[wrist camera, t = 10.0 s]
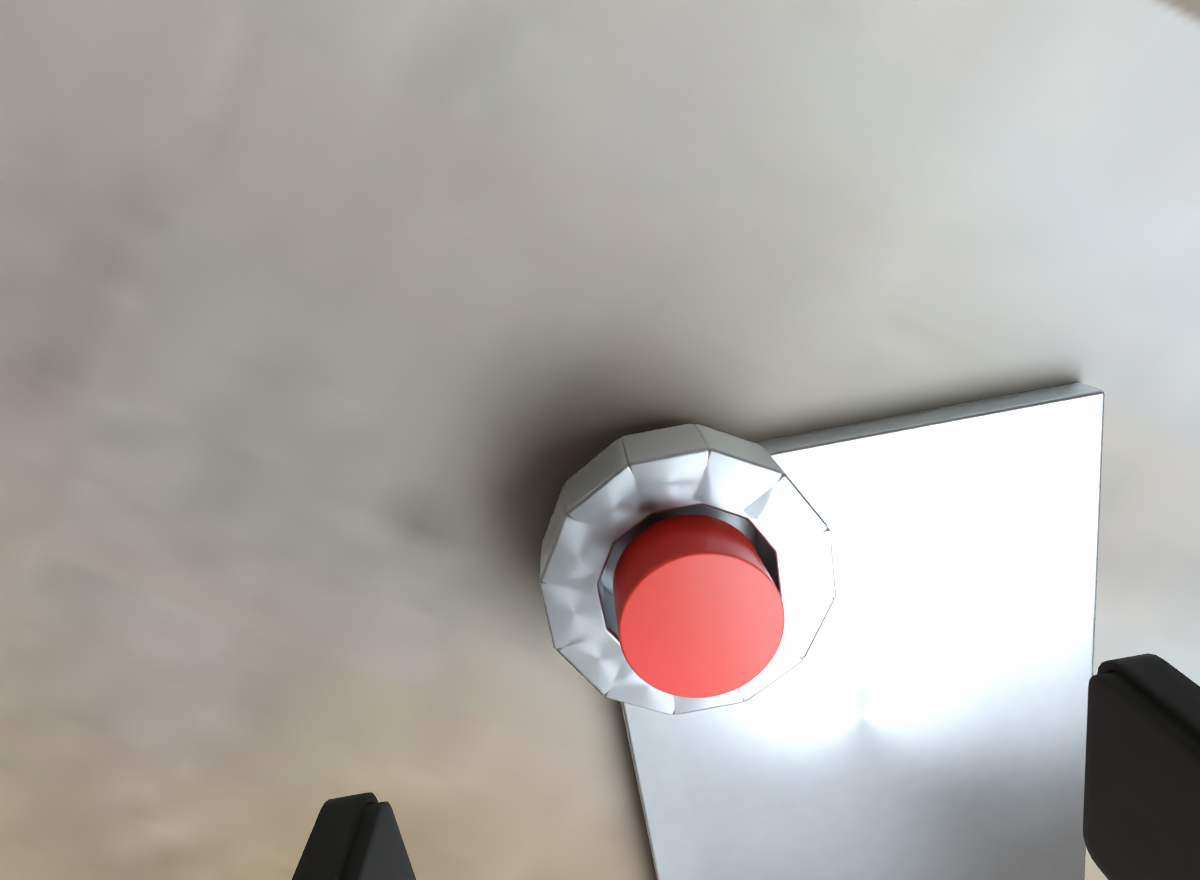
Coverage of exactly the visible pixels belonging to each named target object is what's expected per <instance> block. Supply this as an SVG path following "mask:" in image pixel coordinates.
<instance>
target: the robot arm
mask: <svg viewBox="0 0 1200 880" xmlns="http://www.w3.org/2000/svg"><path fill="white" fill-rule="evenodd" d="M1083 837H1084V841H1085V844H1086V847H1087V849H1088V852H1089V854H1090V855H1091V857H1092V859H1093V861H1094V862H1095V863H1096V865H1097V866H1098V867H1099V869H1100V870H1101V871H1102V872H1103V874H1104V875H1105V876H1106V877H1107V879H1108V880H1200V686H1198V685H1197V684H1195V683H1194V682H1193V681H1191V680H1190V679H1189V678H1187V677H1186V676H1185V675H1183V674H1182V673H1181V672H1179V671H1178V670H1177V669H1175V668H1174V667H1173V666H1171V665H1170V664H1169V663H1167V662H1166V661H1165V660H1163V659H1162V658H1160V657H1158V656H1156V655H1153V654H1143V655H1137V656H1132V657H1126V658H1120V659H1115V660H1109V661H1105V662H1102V663H1101V665H1100V666H1099V668H1098V673H1097V675H1094V676H1092V677H1091V678H1090V680H1089V684H1088V706H1087V732H1086V758H1085V783H1084V809H1083ZM292 880H416V878H415V875H414V872H413V870H412V867H411V864H410V861H409V858H408V855H407V852H406V849H405V846H404V843H403V840H402V837H401V834H400V831H399V828H398V825H397V822H396V819H395V816H394V813H393V810H392V808H391V806H390V804H389V803H388V802H380V803H378V800H377V798H376V796H375V795H374V794H373V793H363V794H357V795H351V796H346V797H340V798H335V799H329V800H328V801H326V802H325V803H324V805H323V807H322V808H321V810H320V813H319V815H318V818H317V820H316V822H315V825H314V827H313V830H312V832H311V834H310V837H309V839H308V842H307V844H306V847H305V849H304V851H303V854H302V856H301V859H300V861H299V864H298V866H297V868H296V871H295V873H294V876H293V878H292Z"/></svg>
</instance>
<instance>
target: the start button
mask: <svg viewBox="0 0 1200 880" xmlns="http://www.w3.org/2000/svg"><path fill="white" fill-rule="evenodd" d="M613 596H614V604H615V612H616V620H617V628H618V636H619V643H620V646H621V650H622V653H623V655H624V657H625V659H626V661H627V662H628V664H629V666H630V667H631V668H632V670H633V671H634V672H635V673H636V674H637V675H638V676H639V677H640V678H641V679H642V680H644V681H645V682H646V683H648V684H649V685H651V686H652V687H654V688H656V689H658V690H660V691H662V692H665V693H668V694H671V695H675V696H679V697H687V698H705V697H713V696H717V695H721V694H725V693H728V692H730V691H733V690H735V689H737V688H739V687H741V686H743V685H745V684H746V683H748V682H750V681H751V680H752V679H754V678H755V677H756V676H757V675H759V674H760V673H761V672H762V671H763V670H764V669H765V668H766V667H767V665H768V664H769V663H770V661H771V660H772V659H773V657H774V655H775V654H776V652H777V650H778V648H779V645H780V643H781V640H782V636H783V632H784V625H785V611H784V606H783V602H782V599H781V596H780V593H779V591H778V589H777V588H776V586H775V584H774V582H773V580H772V579H771V577H770V575H769V573H768V571H767V570H766V568H765V566H764V564H763V563H762V561H761V559H760V557H759V555H758V554H757V552H756V550H755V548H754V546H753V545H752V544H751V542H750V541H749V540H748V538H747V537H746V536H745V535H744V534H743V533H742V532H740V531H739V530H738V529H736V528H735V527H734V526H732V525H730V524H728V523H727V522H724V521H722V520H719V519H717V518H713V517H709V516H703V515H681V516H675V517H671V518H667V519H664V520H662V521H659V522H657V523H655V524H653V525H651V526H649V527H647V528H646V529H645V530H643V531H642V532H640V533H639V534H638V535H637V536H636V537H635V538H634V539H632V541H631V542H630V543H629V544H628V545H627V546H626V548H625V549H624V551H623V552H622V554H621V556H620V558H619V560H618V562H617V565H616V568H615V571H614V577H613Z"/></svg>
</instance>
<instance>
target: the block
mask: <svg viewBox="0 0 1200 880" xmlns="http://www.w3.org/2000/svg"><path fill="white" fill-rule="evenodd" d="M1103 415H1104V392H1103V391H1102V390H1100V389H1097V388H1094V387H1091V386H1088V385H1085V384H1082V383H1078V382H1076V383H1071V384H1065V385H1060V386H1055V387H1049V388H1044V389H1039V390H1033V391H1028V392H1022V393H1017V394H1012V395H1006V396H1001V397H996V398H990V399H985V400H980V401H974V402H969V403H964V404H958V405H953V406H948V407H942V408H937V409H931V410H926V411H921V412H915V413H910V414H905V415H899V416H894V417H889V418H883V419H878V420H873V421H867V422H862V423H856V424H851V425H846V426H840V427H835V428H830V429H824V430H819V431H814V432H808V433H803V434H798V435H792V436H787V437H781V438H776V439H771V440H765V441H760V442H755V443H753V442H750V441H747V440H744V439H741V438H738V437H735V436H732V435H729V434H726V433H723V432H720V431H718V430H715V429H712V428H709V427H706V426H703V425H700V424H692V423H690V424H684V425H679V426H674V427H668V428H663V429H658V430H652V431H647V432H642V433H636V434H631V435H626V436H623V437H622V439H621V438H619V439H617V440H616V441H615V442H613V443H612V444H611V445H610V446H608V447H607V448H606V449H605V450H604V451H602V452H601V453H600V454H599V455H597V456H596V457H595V458H594V459H593V460H591V461H590V462H589V463H588V464H586V465H585V466H584V467H583V468H582V469H580V470H579V471H578V472H577V473H575V474H574V475H573V476H572V477H571V478H569V479H568V480H567V481H566V484H564V485H563V487H562V490H561V493H560V495H559V498H558V501H557V504H556V506H555V509H554V512H553V515H552V517H551V520H550V523H549V526H548V528H547V531H546V534H545V537H544V539H543V542H542V549H541V563H540V578H539V586H540V590H541V595H542V599H543V603H544V607H545V612H546V616H547V620H548V624H549V629H550V633H551V637H552V641H553V646H554V648H555V649H557V651H558V652H559V653H560V654H561V655H562V656H563V657H564V658H565V659H566V660H567V661H568V662H569V663H570V664H571V665H572V666H573V667H574V668H575V669H576V670H577V671H578V672H579V673H581V674H582V675H583V676H584V677H585V678H586V679H587V680H588V681H589V682H590V683H591V684H592V685H593V686H594V687H595V688H596V689H597V690H598V691H599V692H600V693H601V694H603V695H604V696H605V697H606V698H609V699H613V700H616V701H620V702H621V706H622V711H623V715H624V720H625V725H626V730H627V735H628V740H629V745H630V749H631V754H632V759H633V764H634V769H635V774H636V778H637V783H638V788H639V793H640V798H641V803H642V808H643V812H644V817H645V822H646V827H647V832H648V837H649V841H650V846H651V851H652V856H653V861H654V866H655V870H656V875H657V880H1084V878H1085V853H1086V844H1085V841H1084V837H1083V809H1084V783H1085V758H1086V732H1087V706H1088V684H1089V680H1090V678H1091V677H1092V676H1093V658H1094V634H1095V610H1096V585H1097V561H1098V536H1099V512H1100V488H1101V463H1102V439H1103ZM681 515H703V516H709V517H713V518H717V519H719V520H722V521H724V522H727V523H728V524H730V525H732V526H734V527H735V528H736V529H738V530H739V531H740V532H742V533H743V534H744V535H745V536H746V537H747V538H748V540H749V541H750V542H751V544H752V545H753V546H754V548H755V550H756V552H757V554H758V555H759V557H760V559H761V561H762V563H763V564H764V566H765V568H766V570H767V571H768V573H769V575H770V577H771V579H772V580H773V582H774V584H775V586H776V588H777V589H778V591H779V593H780V596H781V599H782V602H783V606H784V611H785V625H784V632H783V636H782V640H781V643H780V645H779V648H778V650H777V652H776V654H775V655H774V657H773V659H772V660H771V661H770V663H769V664H768V665H767V667H766V668H765V669H764V670H763V671H762V672H761V673H760V674H759V675H757V676H756V677H755V678H754V679H752V680H751V681H750V682H748V683H746V684H745V685H743V686H741V687H739V688H737V689H735V690H733V691H730V692H728V693H725V694H721V695H717V696H713V697H705V698H687V697H679V696H675V695H671V694H668V693H665V692H662V691H660V690H658V689H656V688H654V687H652V686H651V685H649V684H648V683H646V682H645V681H644V680H642V679H641V678H640V677H639V676H638V675H637V674H636V673H635V672H634V671H633V670H632V668H631V667H630V666H629V664H628V662H627V661H626V659H625V657H624V655H623V653H622V650H621V646H620V643H619V636H618V628H617V620H616V612H615V604H614V596H613V577H614V571H615V568H616V565H617V562H618V560H619V558H620V556H621V554H622V552H623V551H624V549H625V548H626V546H627V545H628V544H629V543H630V542H631V541H632V539H634V538H635V537H636V536H637V535H638V534H639V533H640V532H642V531H643V530H645V529H646V528H647V527H649V526H651V525H653V524H655V523H657V522H659V521H662V520H664V519H667V518H671V517H675V516H681Z"/></svg>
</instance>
